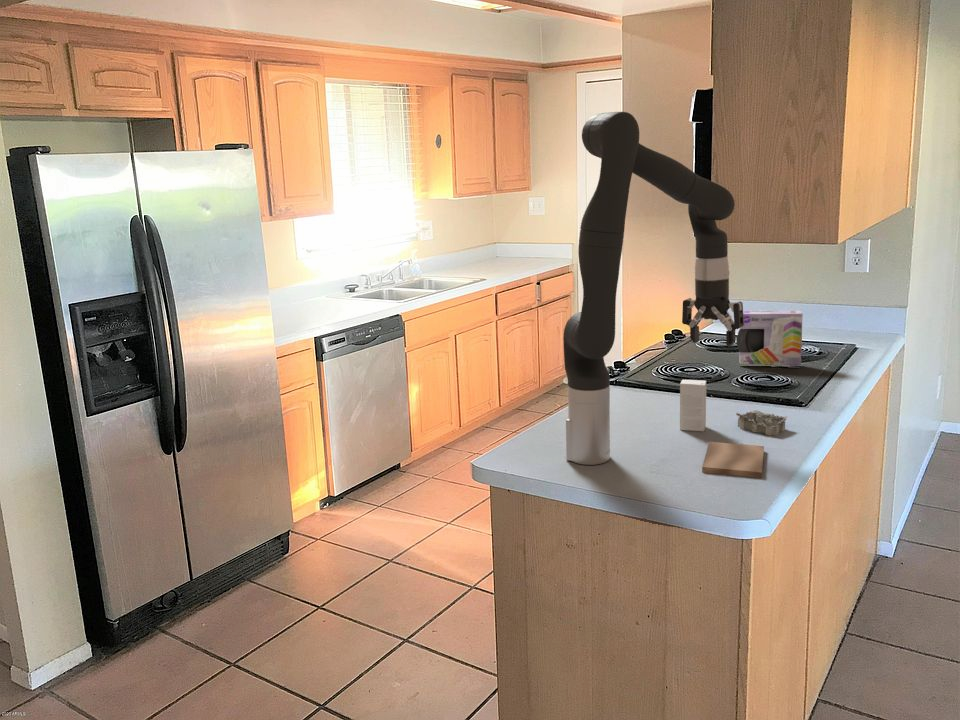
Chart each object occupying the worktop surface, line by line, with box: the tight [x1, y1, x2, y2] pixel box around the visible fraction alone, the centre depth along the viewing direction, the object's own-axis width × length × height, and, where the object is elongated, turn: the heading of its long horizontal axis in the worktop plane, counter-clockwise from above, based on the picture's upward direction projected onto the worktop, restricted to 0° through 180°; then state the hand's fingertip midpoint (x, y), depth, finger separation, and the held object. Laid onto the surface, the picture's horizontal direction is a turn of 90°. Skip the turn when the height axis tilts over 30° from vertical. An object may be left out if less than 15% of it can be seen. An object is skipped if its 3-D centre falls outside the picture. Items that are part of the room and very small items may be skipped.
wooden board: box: [701, 441, 765, 478], centre depth 175 cm, size 12×16×1 cm
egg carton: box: [736, 410, 788, 436], centre depth 195 cm, size 11×8×4 cm
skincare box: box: [679, 379, 707, 432], centre depth 196 cm, size 6×4×12 cm
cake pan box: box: [736, 309, 803, 366], centre depth 248 cm, size 19×5×18 cm, turn 73°
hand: (712, 343), depth 188 cm, fingers open, 8 cm apart
